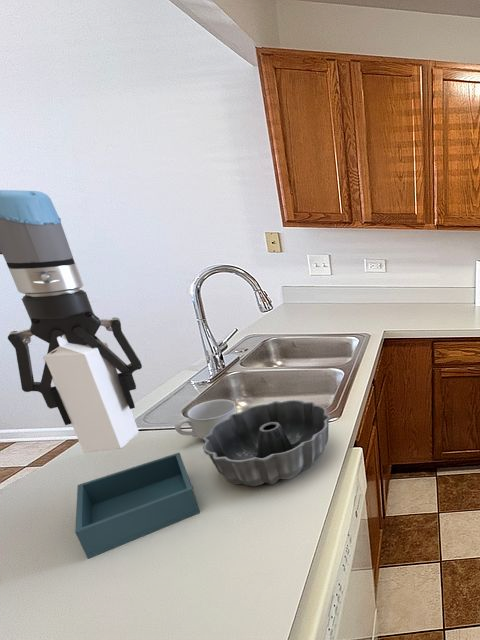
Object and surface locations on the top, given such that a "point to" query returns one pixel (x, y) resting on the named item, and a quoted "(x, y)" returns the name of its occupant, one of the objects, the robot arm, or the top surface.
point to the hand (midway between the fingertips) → (101, 413)
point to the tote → (133, 504)
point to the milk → (91, 396)
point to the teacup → (206, 417)
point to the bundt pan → (268, 441)
